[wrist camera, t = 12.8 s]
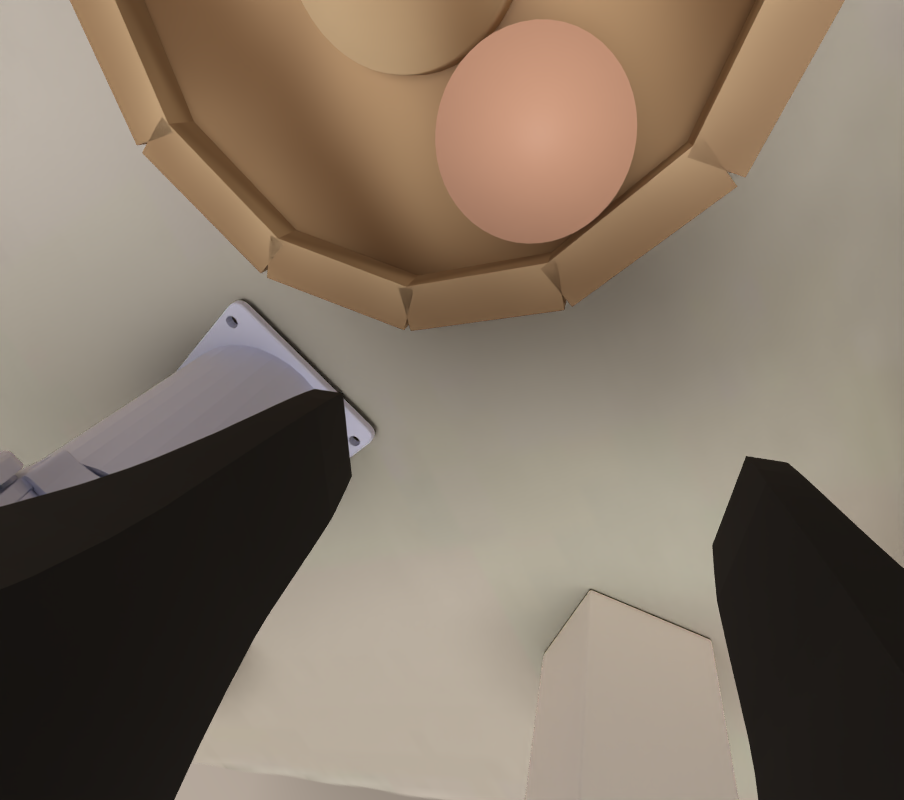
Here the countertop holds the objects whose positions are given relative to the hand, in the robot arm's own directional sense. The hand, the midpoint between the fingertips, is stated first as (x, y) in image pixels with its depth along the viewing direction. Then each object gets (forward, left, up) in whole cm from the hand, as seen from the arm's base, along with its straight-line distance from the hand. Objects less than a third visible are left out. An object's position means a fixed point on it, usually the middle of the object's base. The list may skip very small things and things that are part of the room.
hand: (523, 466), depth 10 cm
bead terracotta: (+3, +4, -9) cm, 10 cm away
